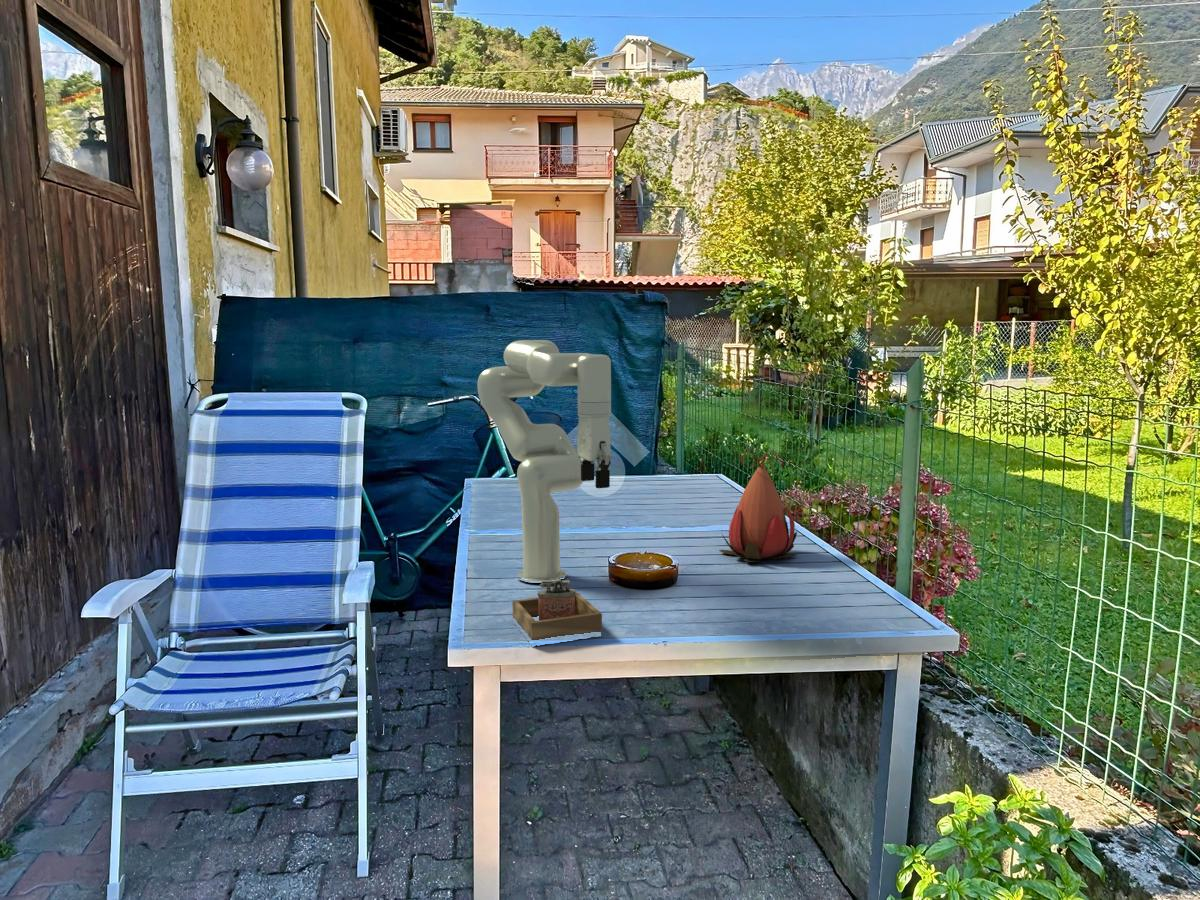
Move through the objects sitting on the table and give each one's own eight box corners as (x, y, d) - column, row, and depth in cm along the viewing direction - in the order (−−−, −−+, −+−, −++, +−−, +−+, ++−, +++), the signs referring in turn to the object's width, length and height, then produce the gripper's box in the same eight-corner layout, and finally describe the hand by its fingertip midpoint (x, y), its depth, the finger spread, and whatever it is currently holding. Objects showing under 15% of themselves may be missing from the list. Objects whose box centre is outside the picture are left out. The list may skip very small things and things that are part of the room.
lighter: (575, 621, 171) (574, 576, 170) (576, 627, 168) (576, 581, 167) (537, 623, 170) (536, 578, 169) (538, 629, 167) (537, 583, 166)
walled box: (512, 622, 174) (512, 600, 173) (577, 614, 179) (577, 592, 178) (532, 647, 160) (531, 623, 159) (602, 636, 165) (601, 613, 164)
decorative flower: (798, 549, 233) (801, 447, 229) (795, 571, 211) (798, 458, 207) (723, 544, 239) (724, 445, 234) (712, 565, 217) (713, 456, 212)
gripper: (566, 407, 187) (567, 479, 189) (592, 413, 171) (592, 492, 173) (596, 405, 189) (597, 477, 192) (624, 412, 173) (624, 489, 176)
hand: (594, 484), depth 182 cm, fingers open, 9 cm apart
